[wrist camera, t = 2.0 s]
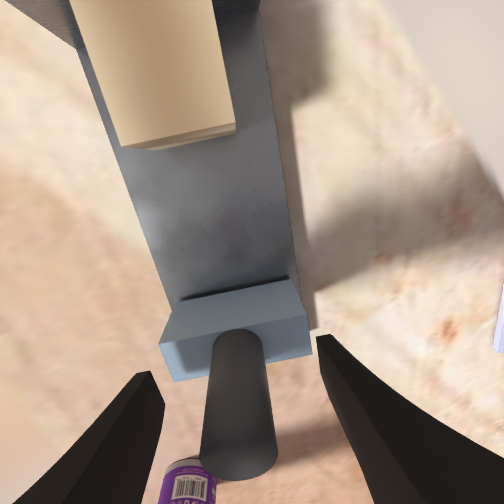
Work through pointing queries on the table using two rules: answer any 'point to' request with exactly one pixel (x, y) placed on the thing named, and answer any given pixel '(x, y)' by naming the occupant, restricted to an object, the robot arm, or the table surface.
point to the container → (188, 484)
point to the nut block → (158, 69)
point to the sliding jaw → (236, 369)
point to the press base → (206, 171)
